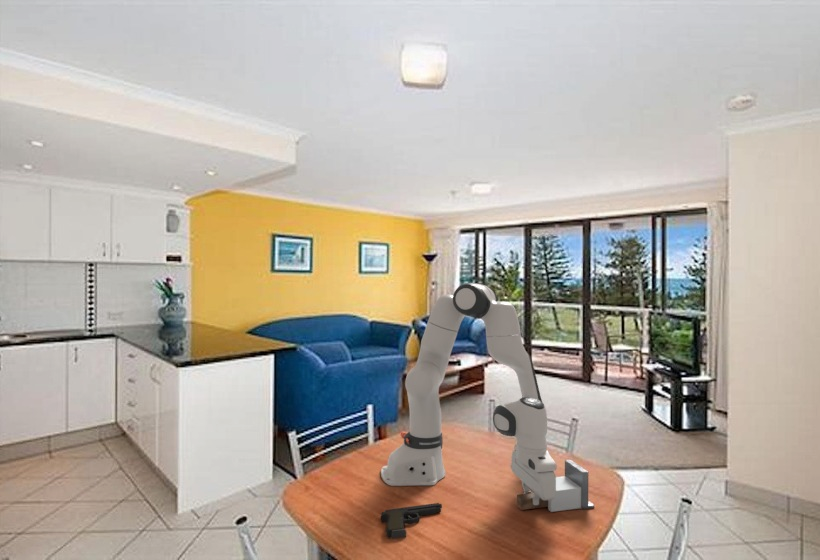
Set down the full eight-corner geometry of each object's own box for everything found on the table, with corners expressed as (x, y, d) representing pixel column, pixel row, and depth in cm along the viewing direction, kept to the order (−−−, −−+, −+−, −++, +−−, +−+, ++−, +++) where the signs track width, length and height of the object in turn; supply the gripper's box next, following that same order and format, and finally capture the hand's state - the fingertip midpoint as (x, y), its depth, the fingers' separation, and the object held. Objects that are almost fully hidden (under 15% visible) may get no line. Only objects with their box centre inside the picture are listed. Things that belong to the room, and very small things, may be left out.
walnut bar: (521, 509, 127) (521, 499, 127) (516, 504, 130) (516, 494, 130) (564, 504, 130) (564, 494, 130) (558, 499, 133) (558, 489, 133)
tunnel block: (551, 511, 126) (551, 491, 126) (536, 498, 134) (537, 479, 134) (581, 508, 129) (581, 487, 129) (565, 495, 136) (565, 475, 136)
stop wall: (582, 509, 128) (582, 472, 128) (564, 494, 137) (564, 460, 137) (594, 507, 129) (594, 471, 129) (575, 493, 138) (575, 458, 138)
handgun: (455, 521, 118) (440, 499, 129) (387, 531, 112) (377, 507, 124) (455, 531, 118) (439, 508, 129) (387, 542, 112) (377, 517, 124)
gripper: (506, 442, 139) (505, 485, 139) (539, 469, 119) (539, 519, 119) (524, 440, 140) (523, 483, 140) (560, 467, 120) (559, 517, 120)
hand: (531, 500), depth 129 cm, fingers closed on walnut bar, 3 cm apart
